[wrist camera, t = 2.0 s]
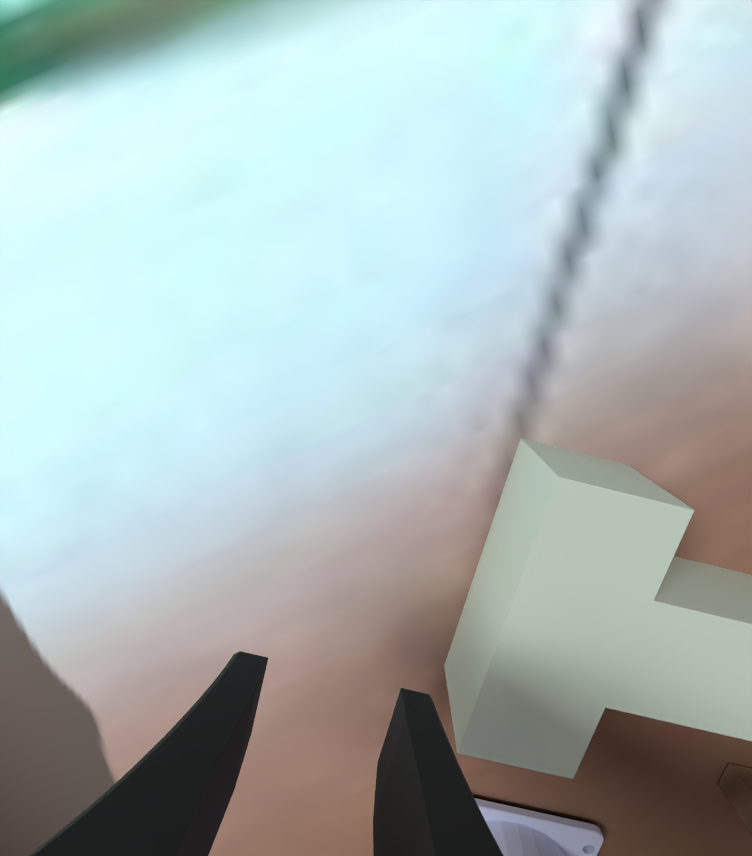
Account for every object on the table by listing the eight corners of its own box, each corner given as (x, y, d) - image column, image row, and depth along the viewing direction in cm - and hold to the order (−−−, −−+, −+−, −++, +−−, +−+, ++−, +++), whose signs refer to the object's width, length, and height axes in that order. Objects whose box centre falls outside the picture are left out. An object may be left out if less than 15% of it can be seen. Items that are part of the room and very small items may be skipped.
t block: (720, 728, 20) (798, 829, 16) (443, 665, 20) (457, 753, 16) (833, 515, 18) (958, 575, 14) (520, 438, 17) (558, 476, 13)
